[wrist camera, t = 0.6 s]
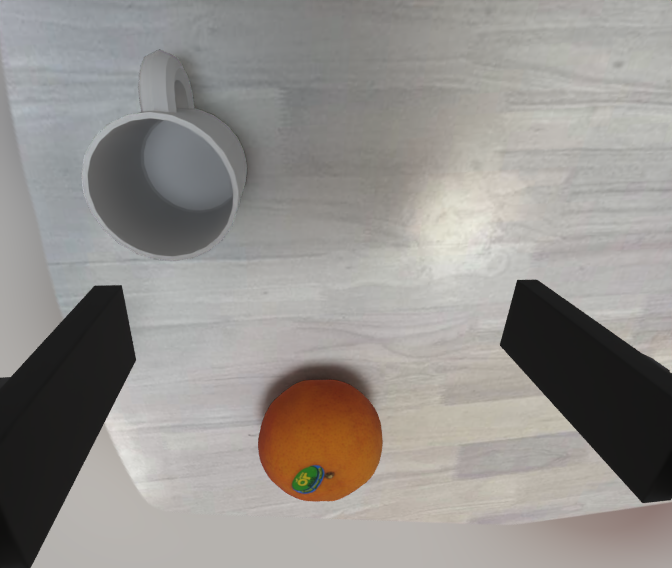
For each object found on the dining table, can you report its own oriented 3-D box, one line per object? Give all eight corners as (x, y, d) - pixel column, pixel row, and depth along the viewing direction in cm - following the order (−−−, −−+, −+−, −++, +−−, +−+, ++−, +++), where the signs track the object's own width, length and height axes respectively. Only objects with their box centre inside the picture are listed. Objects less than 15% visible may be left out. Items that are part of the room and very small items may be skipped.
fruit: (380, 363, 37) (406, 427, 30) (360, 446, 41) (379, 519, 34) (264, 358, 35) (262, 425, 28) (255, 446, 39) (252, 524, 32)
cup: (148, 216, 29) (101, 263, 21) (118, 55, 24) (43, 37, 16) (251, 214, 30) (244, 258, 22) (239, 59, 25) (225, 42, 17)
